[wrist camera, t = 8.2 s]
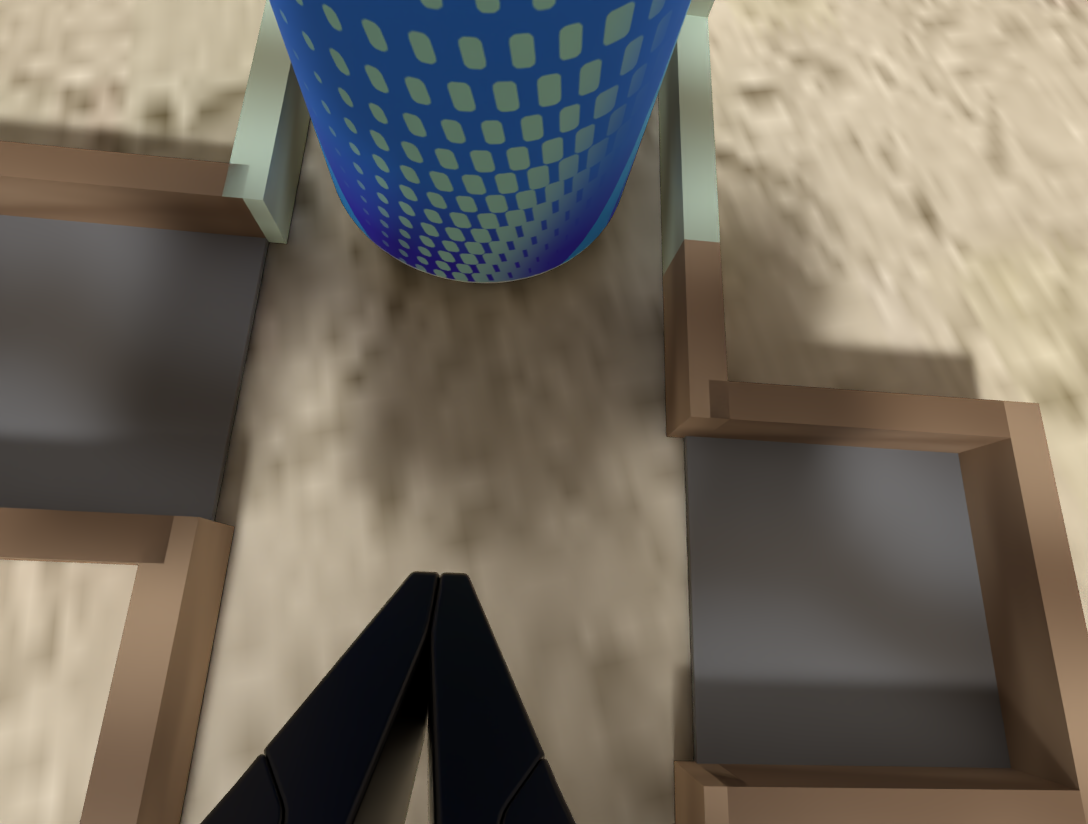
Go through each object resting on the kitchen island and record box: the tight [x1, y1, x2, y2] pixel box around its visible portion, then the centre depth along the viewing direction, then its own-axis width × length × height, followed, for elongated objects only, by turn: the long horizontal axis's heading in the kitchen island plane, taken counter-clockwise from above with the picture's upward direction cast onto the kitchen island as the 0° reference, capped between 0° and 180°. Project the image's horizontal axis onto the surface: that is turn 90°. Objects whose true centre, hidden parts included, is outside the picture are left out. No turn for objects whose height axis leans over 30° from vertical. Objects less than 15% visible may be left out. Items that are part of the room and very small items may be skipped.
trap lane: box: [0, 0, 1088, 824], centre depth 14 cm, size 28×30×4 cm
